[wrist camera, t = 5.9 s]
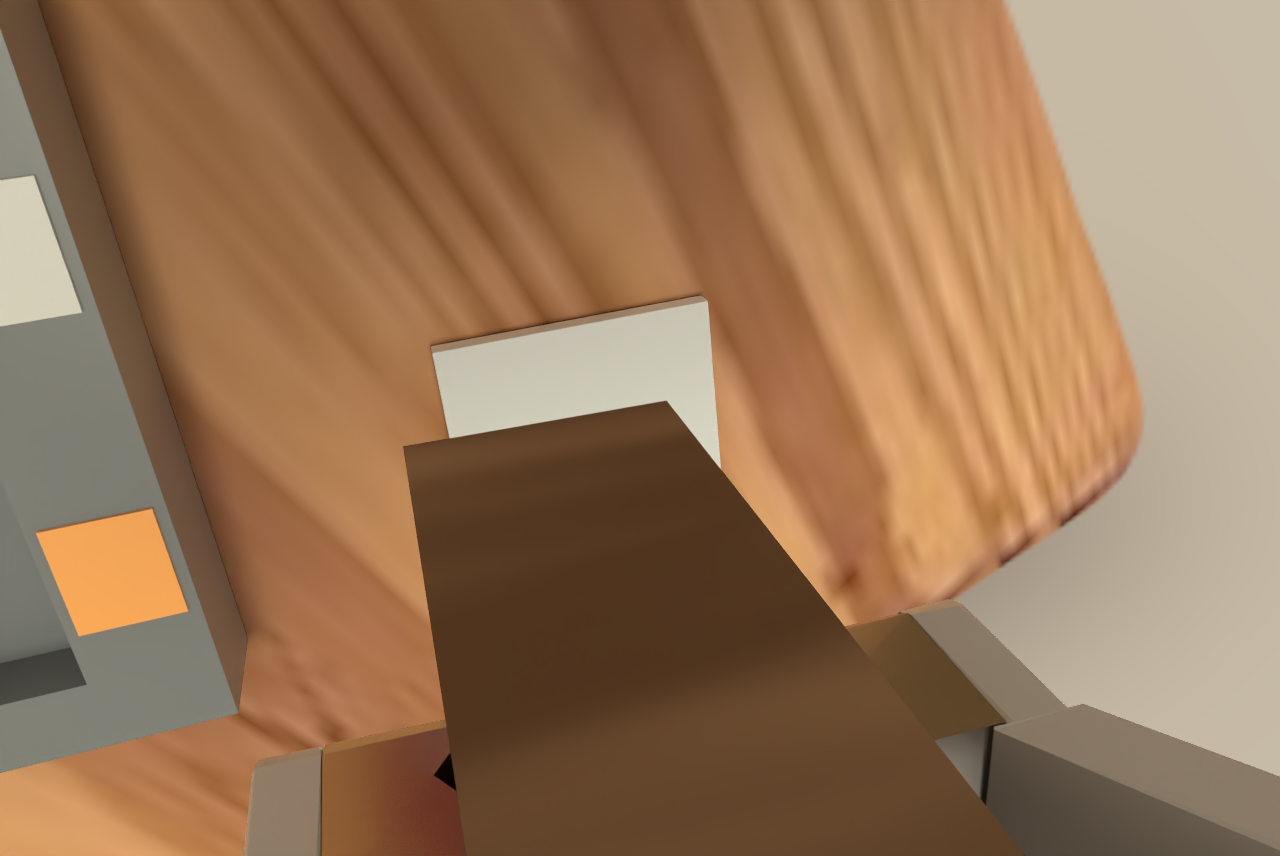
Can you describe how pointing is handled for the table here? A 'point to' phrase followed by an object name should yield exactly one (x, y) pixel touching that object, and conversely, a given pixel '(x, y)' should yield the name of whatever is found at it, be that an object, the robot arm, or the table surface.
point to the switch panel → (89, 461)
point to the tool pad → (584, 370)
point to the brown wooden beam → (656, 662)
